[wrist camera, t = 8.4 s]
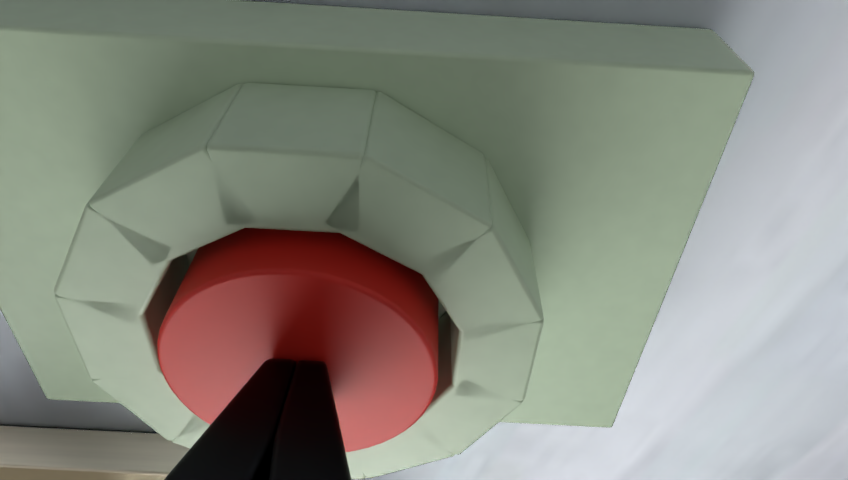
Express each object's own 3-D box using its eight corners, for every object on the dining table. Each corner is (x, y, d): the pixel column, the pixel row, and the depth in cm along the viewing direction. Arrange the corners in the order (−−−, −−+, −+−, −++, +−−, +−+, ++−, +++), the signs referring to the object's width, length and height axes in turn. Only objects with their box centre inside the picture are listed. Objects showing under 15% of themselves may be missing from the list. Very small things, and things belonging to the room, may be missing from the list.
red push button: (447, 188, 9) (449, 280, 8) (431, 364, 12) (429, 462, 10) (179, 173, 9) (123, 262, 8) (220, 353, 12) (184, 449, 10)
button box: (713, 28, 10) (823, 137, 7) (597, 367, 14) (633, 510, 12) (-69, -20, 9) (-281, 73, 7) (82, 340, 14) (-3, 479, 12)
